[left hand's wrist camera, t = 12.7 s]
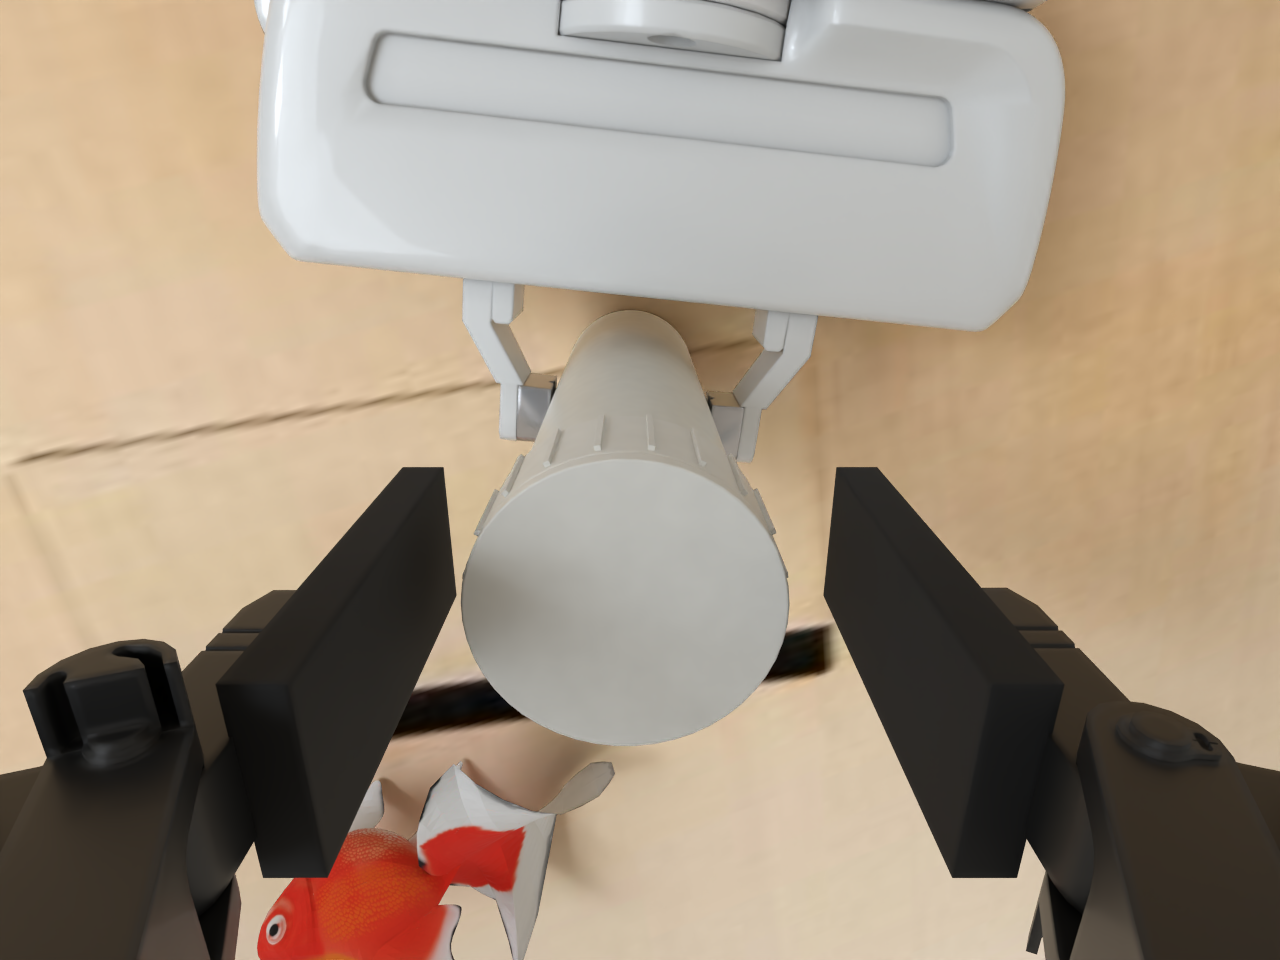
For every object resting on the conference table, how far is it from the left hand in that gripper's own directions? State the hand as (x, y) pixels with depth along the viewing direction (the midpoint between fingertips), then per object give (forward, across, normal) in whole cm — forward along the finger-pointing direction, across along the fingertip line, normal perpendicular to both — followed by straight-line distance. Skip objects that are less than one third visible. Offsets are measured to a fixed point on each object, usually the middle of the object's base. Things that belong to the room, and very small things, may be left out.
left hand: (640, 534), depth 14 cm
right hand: (+9, 0, -1) cm, 9 cm away
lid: (-2, 0, 0) cm, 2 cm away
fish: (+15, -8, -20) cm, 27 cm away
